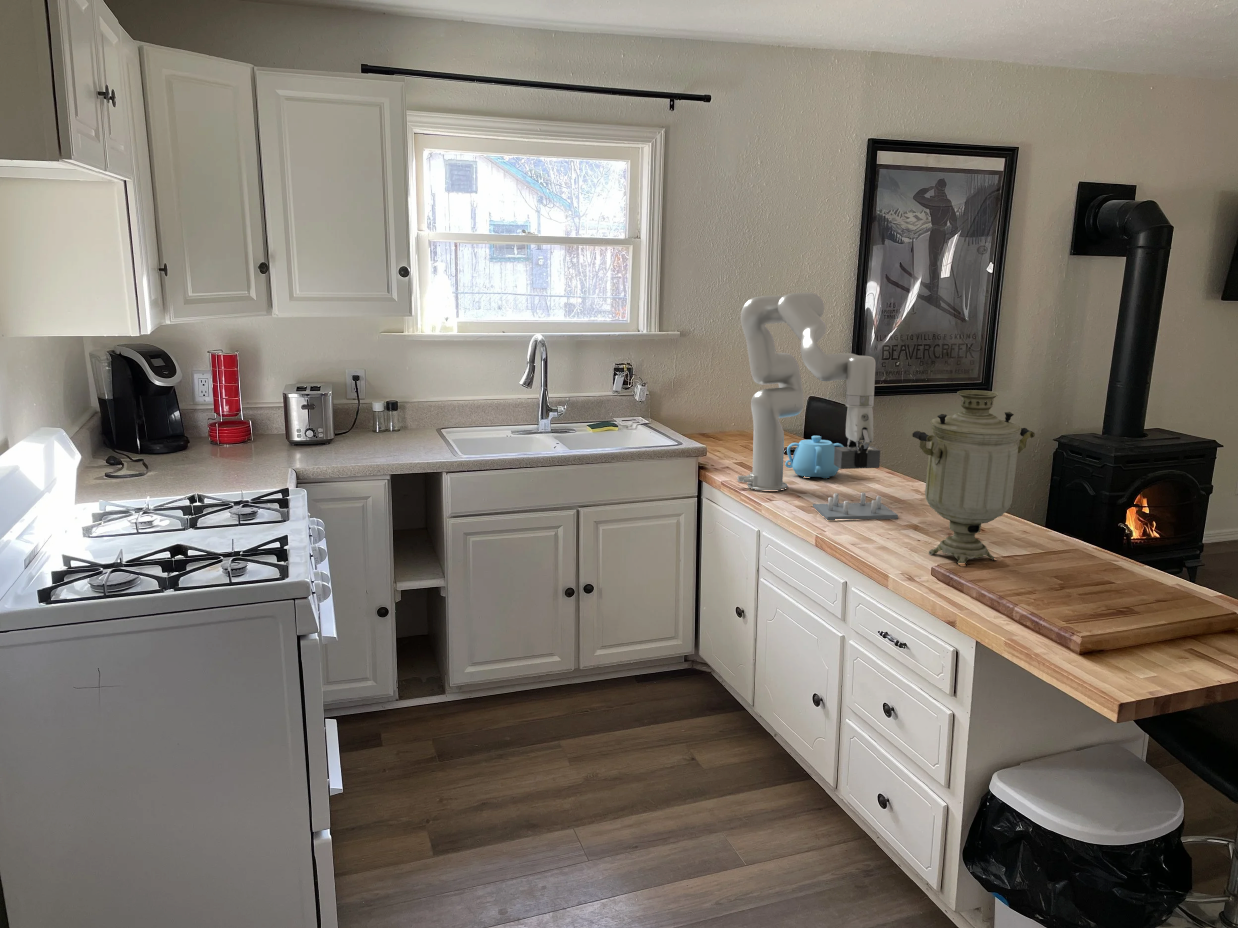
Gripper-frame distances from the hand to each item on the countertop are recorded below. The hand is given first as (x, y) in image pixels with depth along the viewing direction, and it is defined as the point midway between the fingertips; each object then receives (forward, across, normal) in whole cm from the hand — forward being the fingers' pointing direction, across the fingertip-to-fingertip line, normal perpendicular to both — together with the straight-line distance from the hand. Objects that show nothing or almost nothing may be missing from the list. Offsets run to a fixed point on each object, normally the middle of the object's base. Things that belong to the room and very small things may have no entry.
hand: (856, 463), depth 257 cm
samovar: (+15, -39, -13) cm, 44 cm away
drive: (+1, 0, 0) cm, 1 cm away
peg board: (+14, 0, 0) cm, 14 cm away
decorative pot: (+15, +48, -3) cm, 50 cm away
